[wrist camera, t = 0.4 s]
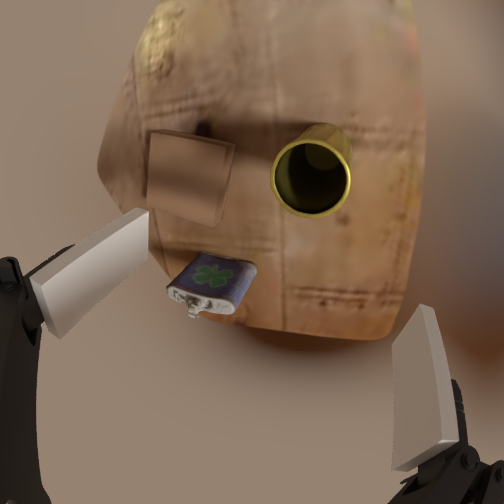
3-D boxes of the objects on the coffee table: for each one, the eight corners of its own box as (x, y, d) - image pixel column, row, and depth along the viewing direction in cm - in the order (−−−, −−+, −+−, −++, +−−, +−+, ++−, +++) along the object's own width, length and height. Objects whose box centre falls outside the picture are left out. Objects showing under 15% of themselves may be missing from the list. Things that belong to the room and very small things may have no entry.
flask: (258, 261, 38) (229, 312, 30) (257, 279, 40) (229, 331, 31) (196, 249, 41) (155, 291, 32) (197, 266, 42) (159, 310, 33)
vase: (294, 172, 31) (259, 216, 19) (299, 119, 28) (265, 126, 16) (347, 181, 30) (348, 233, 18) (355, 128, 27) (365, 140, 15)
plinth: (164, 129, 33) (151, 132, 31) (235, 143, 32) (226, 147, 29) (158, 198, 39) (146, 206, 36) (222, 218, 37) (212, 227, 34)
